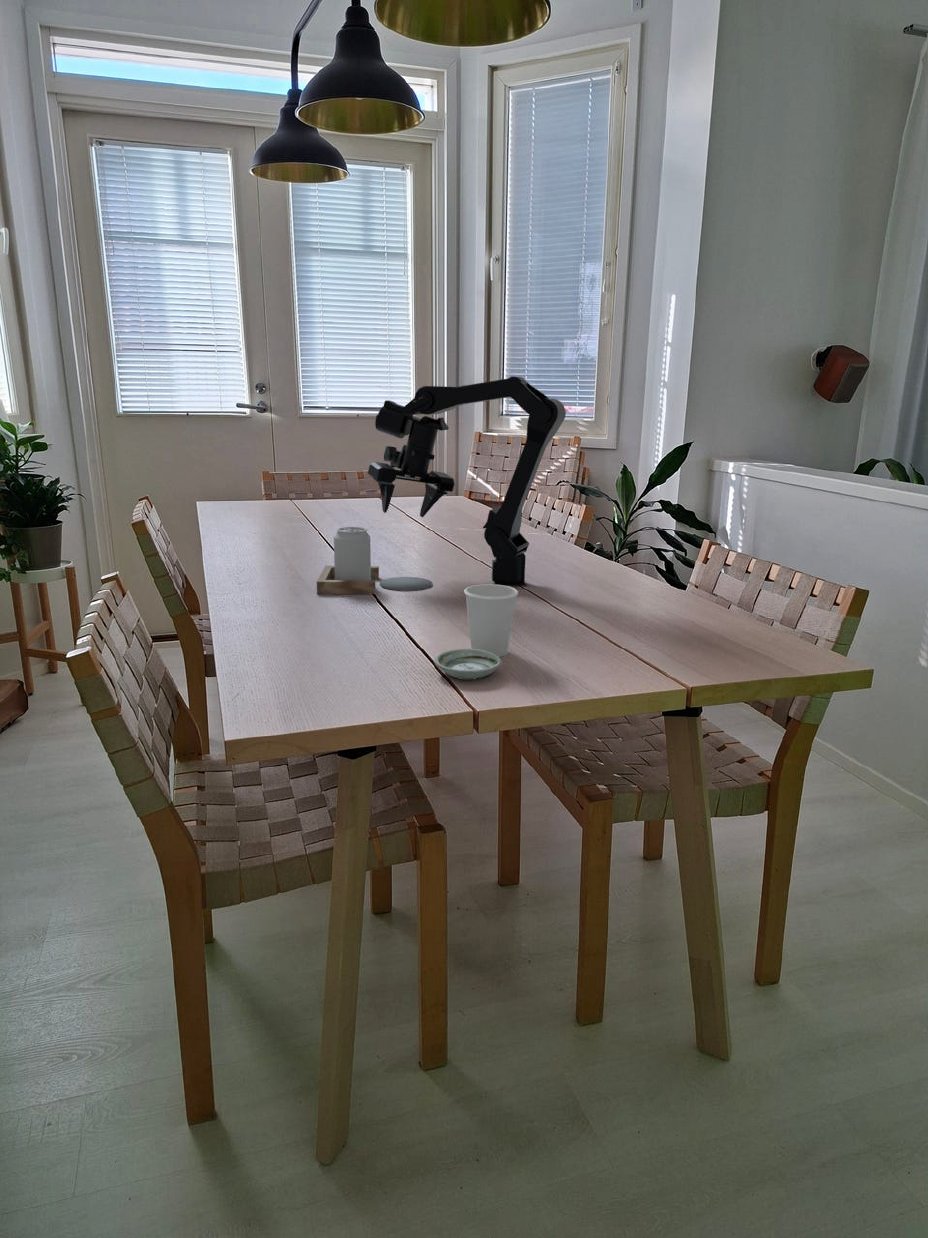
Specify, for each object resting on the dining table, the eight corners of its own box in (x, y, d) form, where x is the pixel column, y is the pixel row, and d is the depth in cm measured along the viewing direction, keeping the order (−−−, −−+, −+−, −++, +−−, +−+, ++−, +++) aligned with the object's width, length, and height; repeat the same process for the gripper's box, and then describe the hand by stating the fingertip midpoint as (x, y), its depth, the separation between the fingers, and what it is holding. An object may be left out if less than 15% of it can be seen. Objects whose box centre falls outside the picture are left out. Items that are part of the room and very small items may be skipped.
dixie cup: (484, 640, 133) (486, 581, 130) (526, 651, 128) (529, 590, 125) (452, 652, 126) (453, 590, 124) (494, 664, 121) (496, 599, 119)
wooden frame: (378, 577, 175) (378, 566, 175) (375, 594, 161) (374, 582, 160) (325, 576, 175) (325, 565, 174) (317, 593, 160) (316, 581, 160)
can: (368, 590, 164) (367, 531, 161) (331, 589, 164) (330, 530, 161) (373, 581, 172) (372, 525, 168) (338, 580, 172) (336, 524, 168)
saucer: (420, 677, 116) (421, 661, 115) (458, 659, 124) (458, 644, 123) (477, 691, 111) (478, 675, 110) (512, 672, 119) (513, 656, 118)
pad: (431, 578, 175) (431, 576, 175) (432, 591, 164) (432, 589, 164) (381, 578, 174) (381, 576, 174) (378, 590, 164) (378, 588, 164)
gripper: (441, 441, 183) (424, 507, 188) (366, 428, 173) (350, 497, 179) (464, 455, 174) (445, 523, 180) (386, 442, 164) (369, 514, 170)
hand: (403, 514), depth 177 cm, fingers open, 9 cm apart
